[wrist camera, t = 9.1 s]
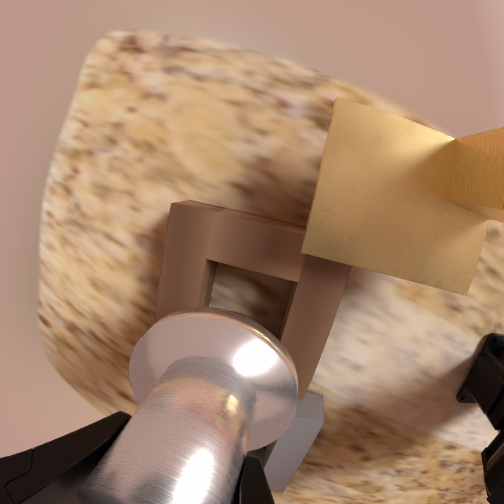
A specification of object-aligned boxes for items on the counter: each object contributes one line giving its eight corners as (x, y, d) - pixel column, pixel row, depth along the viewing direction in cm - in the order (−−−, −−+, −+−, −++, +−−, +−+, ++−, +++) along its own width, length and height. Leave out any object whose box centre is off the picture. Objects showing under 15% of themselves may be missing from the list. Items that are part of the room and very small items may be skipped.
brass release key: (489, 162, 12) (565, 159, 6) (457, 289, 13) (520, 339, 8) (334, 103, 13) (356, 50, 7) (300, 247, 14) (301, 291, 8)
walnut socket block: (347, 238, 18) (356, 248, 15) (303, 374, 20) (302, 400, 17) (190, 200, 19) (171, 203, 16) (169, 337, 21) (152, 357, 18)
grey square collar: (322, 394, 21) (324, 421, 18) (285, 468, 23) (282, 492, 20) (192, 361, 21) (178, 384, 19) (180, 441, 24) (170, 463, 21)
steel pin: (314, 298, 13) (331, 513, 3) (281, 408, 14) (253, 584, 5) (173, 266, 14) (-1, 389, 4) (164, 378, 15) (65, 518, 5)
